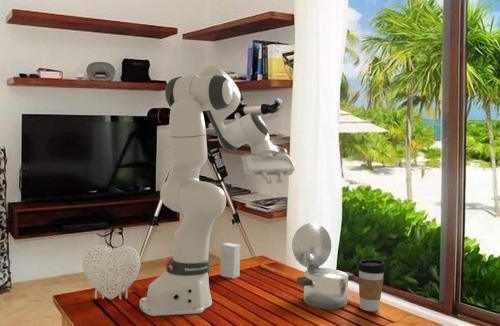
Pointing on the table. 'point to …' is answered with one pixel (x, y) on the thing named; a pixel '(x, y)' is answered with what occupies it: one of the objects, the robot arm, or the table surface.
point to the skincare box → (230, 260)
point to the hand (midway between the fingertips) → (275, 182)
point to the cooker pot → (325, 287)
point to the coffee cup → (370, 283)
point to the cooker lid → (311, 245)
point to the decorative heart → (111, 269)
